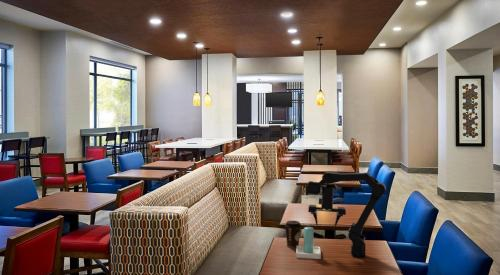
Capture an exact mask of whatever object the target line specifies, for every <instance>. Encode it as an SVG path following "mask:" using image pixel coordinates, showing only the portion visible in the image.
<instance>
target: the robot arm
mask: <svg viewBox="0 0 500 275" xmlns="http://www.w3.org/2000/svg"><path fill="white" fill-rule="evenodd" d="M340 182H364V183H365V184H367V186H368V187H369V188H370V189H372V190H371V194H370V197H369V199H368V201H367V203H366V205H365V207H364V209H363V210H362V212H361V214H360V216H359V218H358V220H357V221H356V222H354V221H352V224H351V225H350V227H349V229H348V230H347V232H348V235H347V236H348V239H349V240H350V241H351V245H350V255H352V257H353V258H367V256H366V242H365V240H366V236H365V235H364V234H363V230H364V226H365V224H366V222H367V221H368V220H369V219H368V218H369V217H370V215H371V213H372V212H373V209H374V208H375V205H377V202H379V200H380V199H381V198H382V197H383V195H384V194H385V192H386V190H387V187H386V185H385V183H384V182H381V181H378V179H376V178H375V177H373V176H372V175H371V174H370V173H369V172H353V173H352V172H347V173H343V172H342V173H341V172H335V171H326V172H324V174H322V176H321V180H319V182H318V181H313V180H312V181H311V180H310V181H308V184H307V189H306V194H307V195H313V196H319V195H320V194H321V197H319V198H318V205H320V207H319V206H317V205H316V204H309V205H308V210H307V212H308V213H310V215H312V217H313V218H314V221H315V224H316V226H318V223H319V222H318V212H331V213H336V215H335V222H334V228H336V227H337V225H338V222H339V220H340V218H342V217H344V216H346V215H347V211H346V207H344V206H337V208H336V207H335V208H334V204H333V203H334V189H335V190H337V189H338V187H339V186H337V184H336V183H340Z"/></svg>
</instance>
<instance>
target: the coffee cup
mask: <svg viewBox="0 0 500 275" xmlns="http://www.w3.org/2000/svg"><path fill="white" fill-rule="evenodd" d="M284 227H285V237H286V239H285V240H286V247H288V248H296V247H297V246H300V244H299V243H300V240H301V239H300V238H301V227H302V225H301V223H300V221H298V220H287V221H286V223H285V225H284Z"/></svg>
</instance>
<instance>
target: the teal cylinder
mask: <svg viewBox="0 0 500 275" xmlns="http://www.w3.org/2000/svg"><path fill="white" fill-rule="evenodd" d="M314 229H315V228H314V227H311V226H305V227H303V246H304V252H305V253H313V246H314Z"/></svg>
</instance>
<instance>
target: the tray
mask: <svg viewBox="0 0 500 275" xmlns="http://www.w3.org/2000/svg"><path fill="white" fill-rule="evenodd" d="M295 248H296V250H295V251H296V252H295V258H297V259H314V260H316V259H317V260H321V257H322V254H321V247H320V246H314V245H313V253H305V252H304V245H299V246H297V247H295Z"/></svg>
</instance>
